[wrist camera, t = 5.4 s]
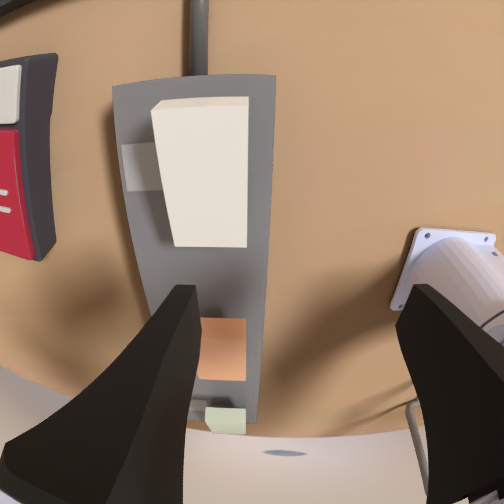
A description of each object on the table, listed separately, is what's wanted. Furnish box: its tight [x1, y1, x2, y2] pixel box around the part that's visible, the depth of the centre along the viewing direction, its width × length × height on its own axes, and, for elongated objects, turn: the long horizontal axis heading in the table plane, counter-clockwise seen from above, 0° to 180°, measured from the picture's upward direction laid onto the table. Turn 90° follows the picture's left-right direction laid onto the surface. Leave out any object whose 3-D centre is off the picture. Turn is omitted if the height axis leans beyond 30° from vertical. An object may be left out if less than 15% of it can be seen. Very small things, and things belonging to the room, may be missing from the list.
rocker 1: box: [151, 97, 249, 248], centre depth 12 cm, size 4×7×1 cm, turn 179°
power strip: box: [112, 0, 276, 423], centre depth 19 cm, size 8×43×4 cm, turn 179°
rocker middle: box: [197, 317, 246, 381], centre depth 19 cm, size 4×7×1 cm, turn 179°
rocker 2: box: [205, 407, 246, 435], centre depth 26 cm, size 4×7×1 cm, turn 179°
